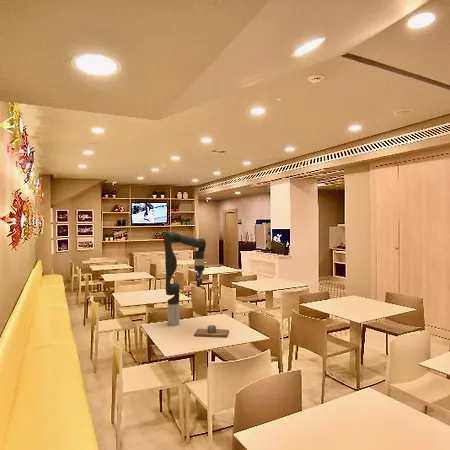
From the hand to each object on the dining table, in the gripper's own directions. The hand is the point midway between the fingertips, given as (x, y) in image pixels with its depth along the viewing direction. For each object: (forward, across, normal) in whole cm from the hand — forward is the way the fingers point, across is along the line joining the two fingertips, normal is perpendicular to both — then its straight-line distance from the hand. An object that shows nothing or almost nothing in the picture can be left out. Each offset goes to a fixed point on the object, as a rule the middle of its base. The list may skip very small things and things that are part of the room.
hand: (199, 285), depth 276 cm
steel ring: (+33, +9, +11) cm, 36 cm away
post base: (+34, +9, +11) cm, 37 cm away
